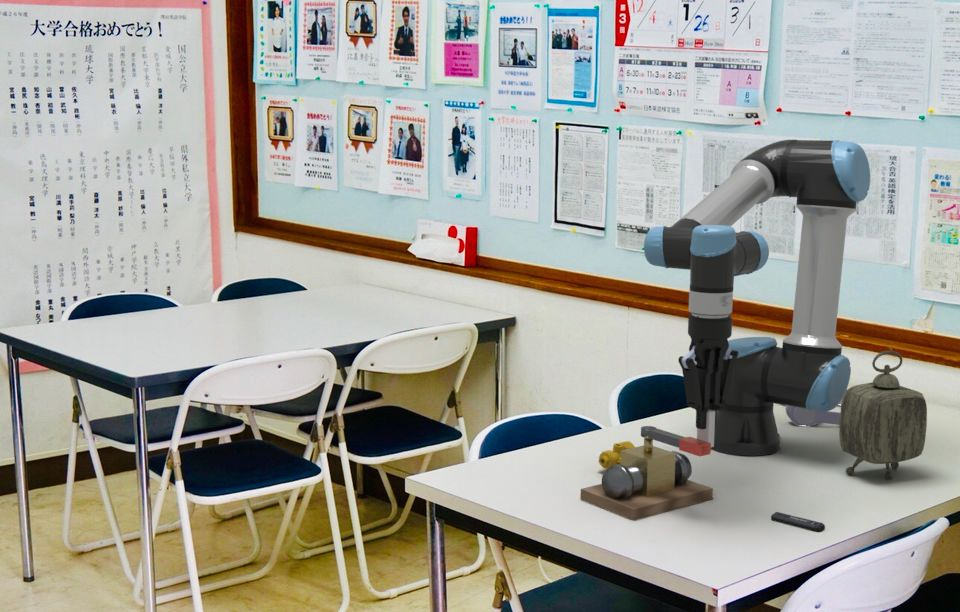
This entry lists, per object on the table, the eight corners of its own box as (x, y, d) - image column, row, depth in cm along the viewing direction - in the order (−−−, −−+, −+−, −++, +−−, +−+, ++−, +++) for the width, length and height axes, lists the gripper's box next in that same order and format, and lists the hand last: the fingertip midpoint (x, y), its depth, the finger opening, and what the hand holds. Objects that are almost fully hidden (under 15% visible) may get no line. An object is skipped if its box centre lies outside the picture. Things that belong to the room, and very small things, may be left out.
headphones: (784, 426, 276) (875, 436, 273) (787, 396, 275) (880, 405, 272) (776, 402, 298) (861, 411, 295) (779, 374, 296) (864, 383, 294)
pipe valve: (668, 478, 233) (669, 426, 232) (695, 488, 228) (697, 435, 226) (597, 496, 223) (598, 442, 221) (624, 506, 217) (625, 451, 216)
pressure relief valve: (590, 469, 242) (623, 459, 249) (636, 493, 234) (669, 482, 241) (594, 443, 241) (627, 434, 247) (641, 467, 232) (674, 457, 239)
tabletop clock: (896, 466, 246) (903, 344, 242) (927, 479, 238) (936, 353, 234) (836, 473, 241) (843, 349, 237) (866, 487, 233) (874, 358, 229)
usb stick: (769, 522, 215) (769, 513, 215) (776, 518, 217) (776, 509, 217) (818, 534, 209) (819, 526, 208) (825, 530, 211) (826, 522, 210)
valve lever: (637, 436, 224) (637, 426, 223) (648, 434, 225) (648, 423, 225) (699, 456, 212) (700, 445, 211) (710, 454, 213) (711, 442, 213)
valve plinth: (658, 479, 237) (658, 469, 237) (712, 498, 226) (713, 488, 226) (580, 499, 225) (580, 488, 225) (633, 520, 214) (633, 509, 214)
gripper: (700, 321, 207) (695, 456, 210) (752, 313, 214) (746, 444, 218) (668, 315, 212) (663, 446, 216) (719, 307, 220) (714, 435, 224)
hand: (705, 445), depth 217 cm, fingers closed
